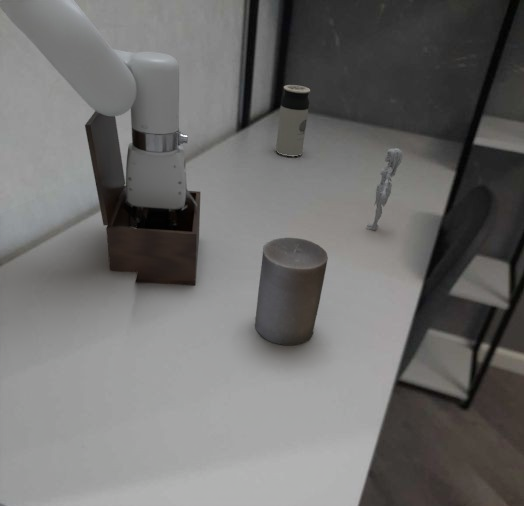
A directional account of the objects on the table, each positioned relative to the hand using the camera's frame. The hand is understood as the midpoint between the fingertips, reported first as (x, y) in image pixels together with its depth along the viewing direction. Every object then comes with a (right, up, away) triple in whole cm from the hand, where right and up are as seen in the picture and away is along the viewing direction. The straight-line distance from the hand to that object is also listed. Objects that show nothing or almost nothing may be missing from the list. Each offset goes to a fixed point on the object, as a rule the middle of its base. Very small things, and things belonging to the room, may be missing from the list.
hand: (157, 240), depth 96 cm
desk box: (0, -3, +2) cm, 4 cm away
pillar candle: (+23, -17, -12) cm, 31 cm away
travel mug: (+27, +39, +61) cm, 77 cm away
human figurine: (+45, +7, +23) cm, 51 cm away
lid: (-6, +12, -10) cm, 16 cm away
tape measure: (0, -2, +2) cm, 3 cm away
